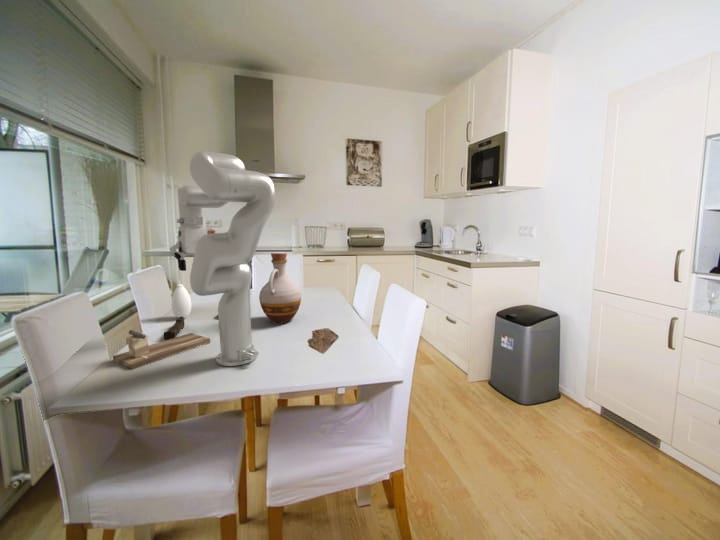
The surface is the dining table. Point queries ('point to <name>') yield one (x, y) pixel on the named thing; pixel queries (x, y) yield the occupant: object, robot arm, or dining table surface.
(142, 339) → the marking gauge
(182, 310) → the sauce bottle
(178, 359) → the dining table surface
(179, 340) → the board
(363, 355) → the dining table surface
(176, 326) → the hand tool
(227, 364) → the robot arm
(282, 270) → the jug
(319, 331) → the wooden fragment
